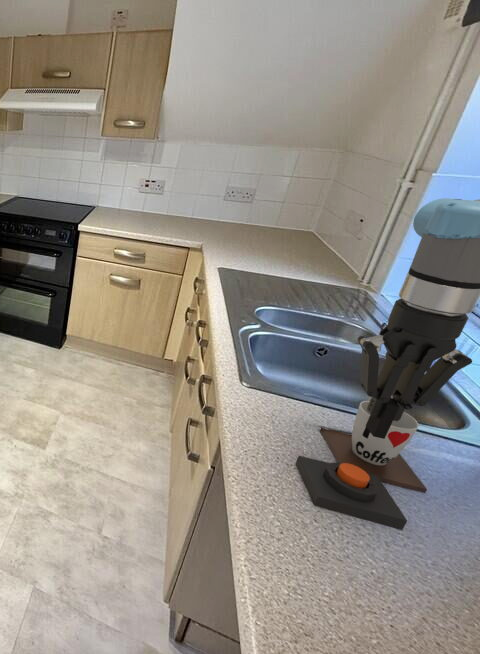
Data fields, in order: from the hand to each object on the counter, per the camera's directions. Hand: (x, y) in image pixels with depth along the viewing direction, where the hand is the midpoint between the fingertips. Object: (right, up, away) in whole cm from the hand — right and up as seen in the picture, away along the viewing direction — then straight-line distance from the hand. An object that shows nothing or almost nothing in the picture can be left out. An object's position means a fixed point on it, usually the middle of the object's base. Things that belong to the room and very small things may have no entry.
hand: (374, 432), depth 70 cm
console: (-1, -13, +5) cm, 14 cm away
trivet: (+11, -10, +12) cm, 20 cm away
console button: (-1, -10, +3) cm, 10 cm away
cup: (+11, -10, +12) cm, 19 cm away
